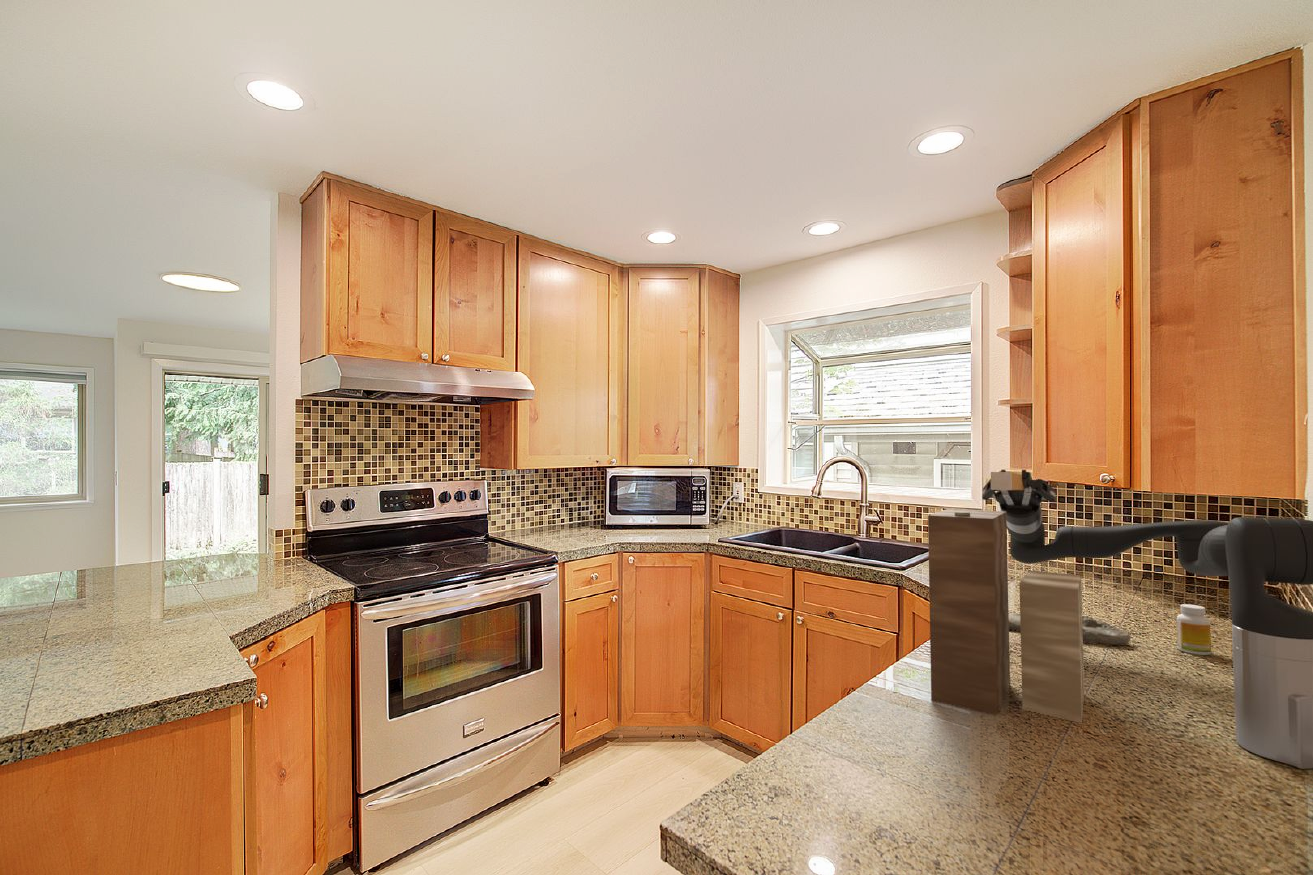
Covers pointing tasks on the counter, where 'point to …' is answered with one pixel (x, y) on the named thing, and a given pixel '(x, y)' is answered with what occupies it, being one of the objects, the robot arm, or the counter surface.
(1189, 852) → the counter surface
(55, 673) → the counter surface
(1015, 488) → the pale tan wood block
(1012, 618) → the long grey stone
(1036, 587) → the short stand
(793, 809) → the counter surface
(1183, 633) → the supplement bottle
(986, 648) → the tall stand
